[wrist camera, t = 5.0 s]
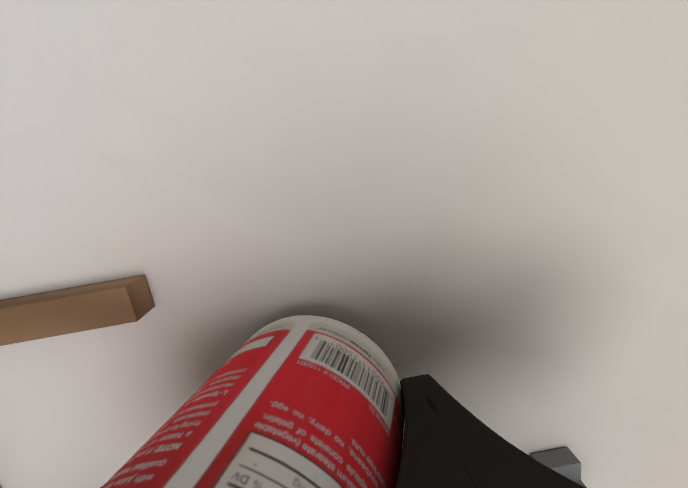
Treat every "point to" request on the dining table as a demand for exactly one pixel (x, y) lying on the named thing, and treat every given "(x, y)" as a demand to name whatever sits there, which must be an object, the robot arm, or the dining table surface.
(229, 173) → the dining table surface
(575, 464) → the slate screen
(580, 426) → the dining table surface
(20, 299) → the walnut bracket
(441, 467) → the robot arm
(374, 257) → the dining table surface
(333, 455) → the pill bottle
